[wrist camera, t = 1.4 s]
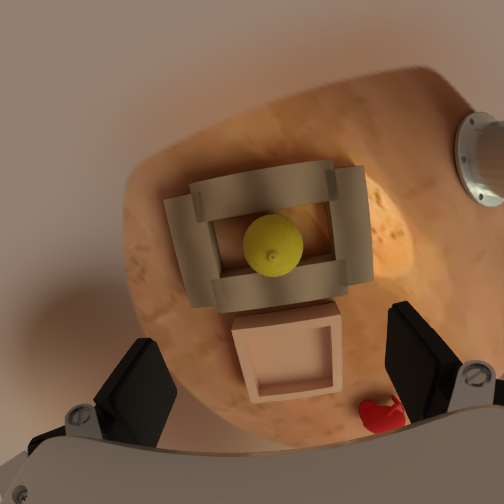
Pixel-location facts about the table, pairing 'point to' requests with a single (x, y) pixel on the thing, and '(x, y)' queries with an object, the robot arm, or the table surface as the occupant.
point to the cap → (382, 416)
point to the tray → (290, 352)
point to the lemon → (273, 245)
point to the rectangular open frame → (264, 199)
